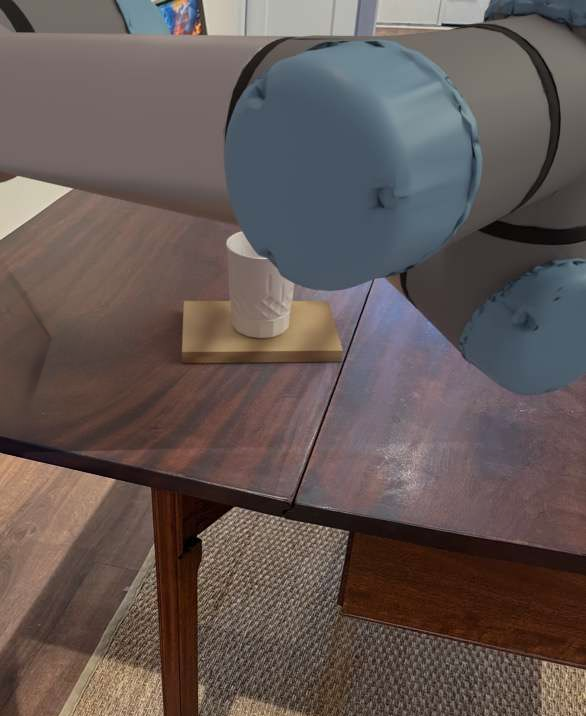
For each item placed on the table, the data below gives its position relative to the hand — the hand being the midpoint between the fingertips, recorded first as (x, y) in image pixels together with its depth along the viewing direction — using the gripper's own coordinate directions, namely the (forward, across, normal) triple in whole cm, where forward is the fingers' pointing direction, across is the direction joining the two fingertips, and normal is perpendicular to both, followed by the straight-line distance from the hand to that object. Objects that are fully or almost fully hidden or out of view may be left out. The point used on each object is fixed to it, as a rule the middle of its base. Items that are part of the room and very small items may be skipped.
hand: (301, 138), depth 62 cm
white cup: (+10, 0, -24) cm, 26 cm away
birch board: (+10, 0, -25) cm, 27 cm away
